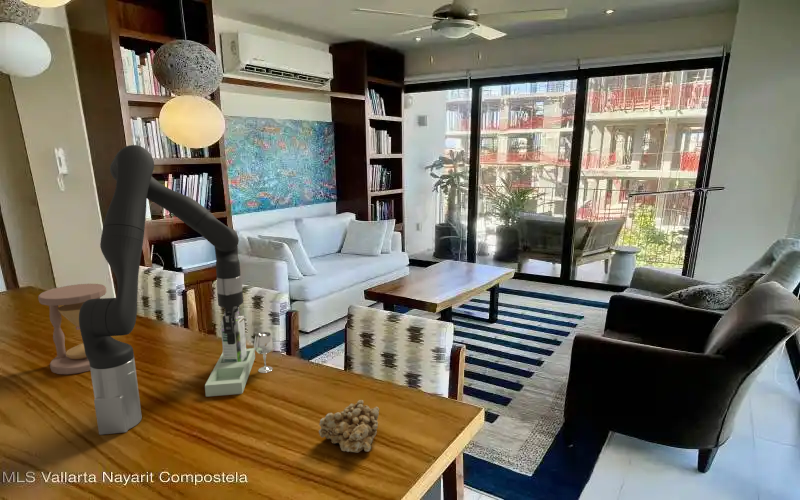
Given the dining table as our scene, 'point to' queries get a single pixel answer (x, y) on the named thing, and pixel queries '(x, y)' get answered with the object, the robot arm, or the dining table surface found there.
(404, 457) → the dining table surface
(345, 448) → the mineral formation
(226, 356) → the syrup box
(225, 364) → the tray
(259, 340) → the wineglass
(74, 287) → the hourglass
